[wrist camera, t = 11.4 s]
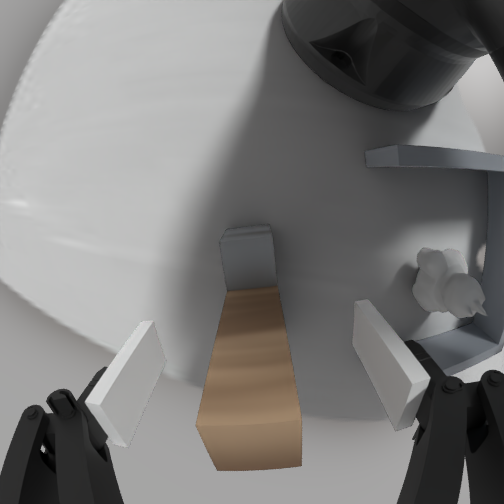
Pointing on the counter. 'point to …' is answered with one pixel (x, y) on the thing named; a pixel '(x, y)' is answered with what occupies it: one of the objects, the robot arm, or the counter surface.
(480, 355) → the box
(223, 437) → the scraper
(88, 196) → the counter surface
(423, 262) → the rubber duck
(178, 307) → the counter surface
